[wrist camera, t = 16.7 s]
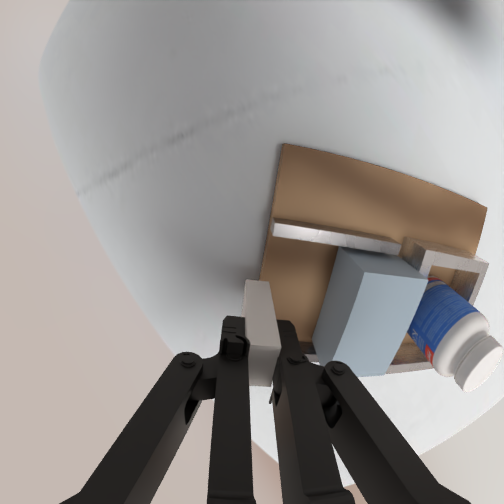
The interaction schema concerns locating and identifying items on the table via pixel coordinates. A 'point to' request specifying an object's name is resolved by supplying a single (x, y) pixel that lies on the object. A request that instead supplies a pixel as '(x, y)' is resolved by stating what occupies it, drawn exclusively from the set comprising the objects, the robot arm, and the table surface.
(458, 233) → the board
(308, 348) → the rails
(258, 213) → the table surface
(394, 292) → the block
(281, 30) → the table surface
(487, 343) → the pill bottle
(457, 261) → the socket
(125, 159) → the table surface
